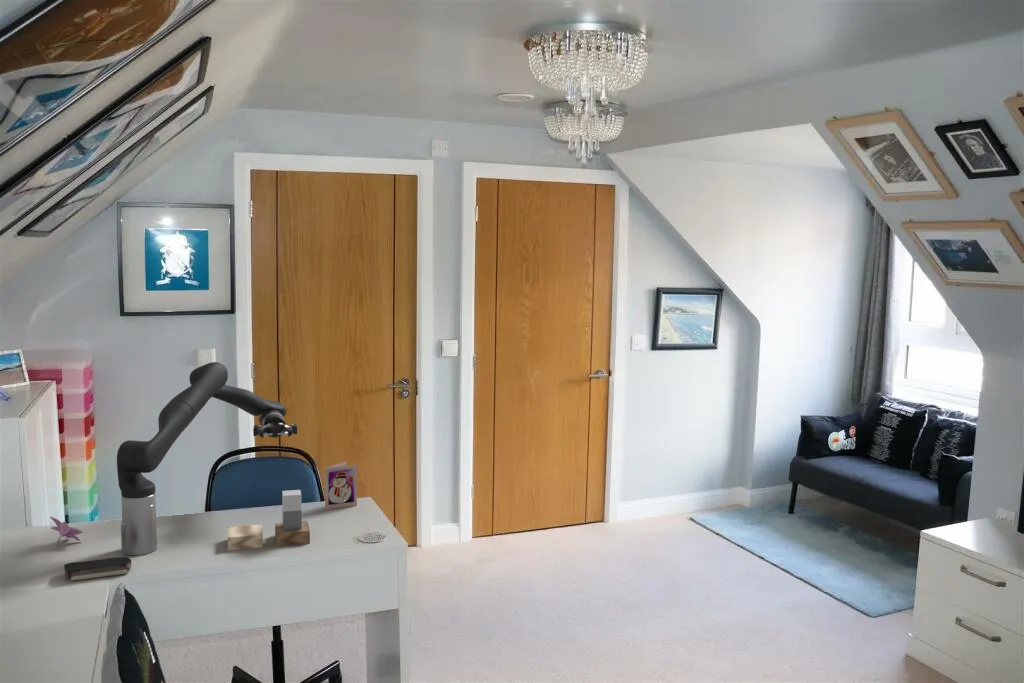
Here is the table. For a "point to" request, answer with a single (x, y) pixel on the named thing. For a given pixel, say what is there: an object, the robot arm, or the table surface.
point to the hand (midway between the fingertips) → (276, 434)
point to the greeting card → (340, 486)
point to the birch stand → (245, 537)
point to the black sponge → (97, 568)
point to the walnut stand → (292, 535)
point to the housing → (292, 509)
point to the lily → (65, 530)
